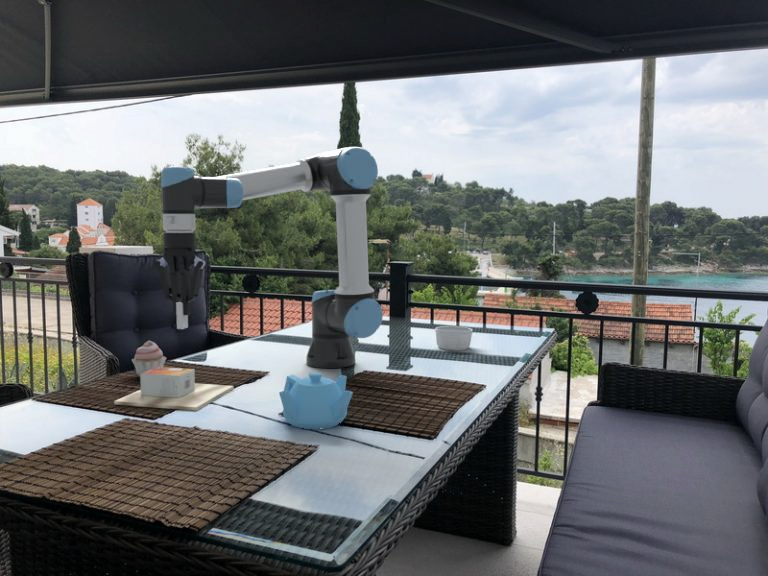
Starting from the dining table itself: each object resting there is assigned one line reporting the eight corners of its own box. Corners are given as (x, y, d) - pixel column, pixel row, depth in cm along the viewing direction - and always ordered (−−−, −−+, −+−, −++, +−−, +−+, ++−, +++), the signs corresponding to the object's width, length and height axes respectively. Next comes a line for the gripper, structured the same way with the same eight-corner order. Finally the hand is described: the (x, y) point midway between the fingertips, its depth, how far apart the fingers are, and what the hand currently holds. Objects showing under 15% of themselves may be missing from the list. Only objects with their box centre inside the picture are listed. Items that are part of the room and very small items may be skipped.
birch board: (233, 388, 165) (233, 385, 165) (196, 410, 146) (196, 407, 146) (160, 383, 169) (160, 380, 169) (114, 404, 150) (114, 401, 150)
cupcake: (129, 380, 173) (128, 344, 172) (133, 372, 182) (132, 338, 181) (165, 378, 175) (165, 342, 174) (168, 370, 184) (167, 337, 183)
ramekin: (471, 345, 231) (472, 326, 231) (472, 352, 218) (473, 332, 218) (435, 343, 233) (435, 325, 232) (434, 350, 220) (434, 331, 219)
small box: (179, 375, 152) (139, 373, 154) (179, 398, 153) (139, 395, 155) (195, 368, 160) (156, 366, 162) (195, 390, 161) (157, 387, 162)
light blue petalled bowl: (349, 410, 148) (349, 365, 147) (352, 431, 133) (353, 381, 132) (283, 412, 146) (282, 366, 145) (279, 433, 131) (279, 382, 130)
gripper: (146, 232, 151) (150, 329, 153) (196, 232, 148) (199, 331, 151) (163, 231, 158) (166, 324, 161) (211, 231, 155) (214, 326, 158)
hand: (182, 328), depth 156 cm, fingers closed
